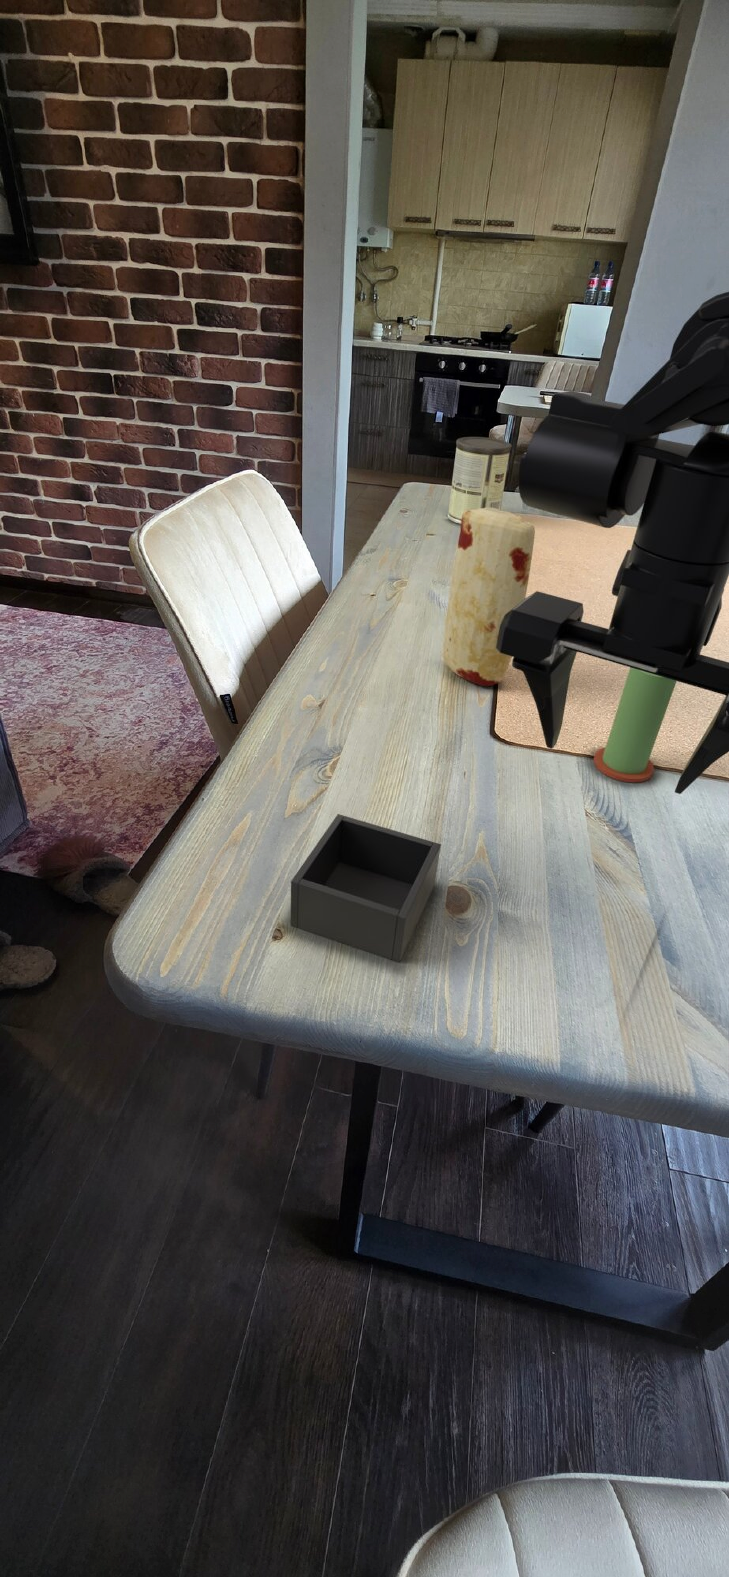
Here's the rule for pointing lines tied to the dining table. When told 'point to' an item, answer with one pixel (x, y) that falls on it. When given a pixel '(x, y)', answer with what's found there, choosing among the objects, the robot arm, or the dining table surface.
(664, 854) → the dining table surface
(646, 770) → the mat
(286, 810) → the dining table surface
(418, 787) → the dining table surface
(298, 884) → the dark grey open box
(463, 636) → the food model
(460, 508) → the coffee can
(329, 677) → the dining table surface
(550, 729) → the robot arm
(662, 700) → the soap bottle
